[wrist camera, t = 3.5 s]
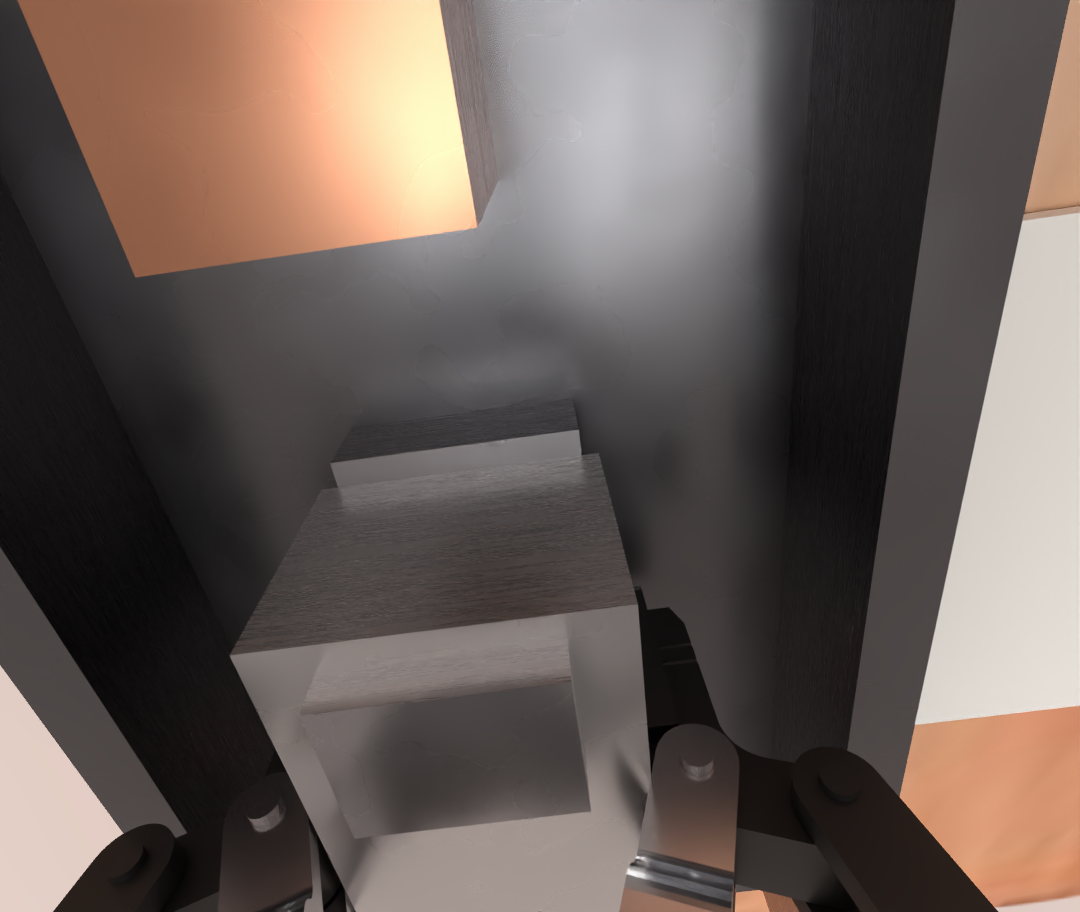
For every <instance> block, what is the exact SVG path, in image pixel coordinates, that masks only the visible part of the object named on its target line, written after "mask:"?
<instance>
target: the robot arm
mask: <svg viewBox="0 0 1080 912" xmlns="http://www.w3.org/2000/svg"><path fill="white" fill-rule="evenodd" d="M634 591H635V595H636V599H637V603H638V612H639V625H640V638H641V651H642V664H643V677H644V690H645V703H646V716H647V729H648V742H649V755H650V768H651V781H650V785H649V791H648V796H647V802H646V807H645V813H644V818H643V824H642V829H641V835H640V840H639V846H638V851H637V856H636V859H635V861H634V863H633V862H632V863H631V864H630V866H629V868H628V872H627V875H626V879H625V884H624V889H623V894H622V900H621V905H620V910H619V912H735V896H736V884H737V885H741V886H745V887H749V888H753V889H757V890H761V891H765V892H769V893H773V894H777V895H781V896H785V897H789V898H791V899H792V900H793V902H794V904H795V905H796V907H797V909H798V910H799V912H998V911H997V910H996V909H995V908H994V906H993V905H992V904H991V903H990V902H989V901H988V899H987V898H986V897H985V896H984V895H983V894H982V892H981V891H980V890H979V889H978V888H977V887H976V886H975V884H974V883H973V882H972V881H971V880H970V879H969V877H968V876H967V875H966V874H965V873H964V872H963V870H962V869H961V868H960V867H959V866H958V865H957V863H956V862H955V861H954V860H953V859H952V858H951V857H950V855H949V854H948V853H947V852H946V851H945V850H944V848H943V847H942V846H941V845H940V844H939V843H938V841H937V840H936V839H935V838H934V837H933V836H932V834H931V833H930V832H929V831H928V830H927V829H926V828H925V826H924V825H923V824H922V823H921V822H920V821H919V819H918V818H917V817H916V816H915V815H914V814H913V812H912V811H911V810H910V809H909V808H908V807H907V805H906V804H905V803H904V802H903V801H902V800H901V799H900V797H899V796H898V795H897V794H896V793H895V792H894V790H893V789H892V788H891V787H890V786H889V785H888V783H887V782H886V781H885V780H884V779H883V778H882V776H881V775H880V774H879V773H878V772H877V771H876V770H875V769H874V768H873V767H872V766H871V765H870V764H869V763H868V762H867V761H865V760H864V759H862V758H861V757H859V756H858V755H856V754H854V753H852V752H849V751H847V750H844V749H840V748H835V747H817V748H813V749H810V750H808V751H806V752H804V753H803V754H802V755H800V756H799V757H798V759H797V760H796V762H795V763H793V762H787V761H782V760H776V759H771V758H766V757H762V756H758V755H755V754H752V753H750V752H748V751H746V750H744V749H742V748H741V747H739V746H738V745H736V744H735V743H734V742H733V741H732V740H731V739H730V738H729V737H728V736H727V735H726V734H725V733H724V731H723V730H722V728H721V726H720V724H719V722H718V719H717V716H716V713H715V710H714V707H713V704H712V702H711V699H710V696H709V693H708V690H707V687H706V684H705V681H704V678H703V675H702V673H701V670H700V667H699V664H698V662H697V658H696V655H695V652H694V649H693V647H692V645H691V641H690V638H689V635H688V632H687V629H686V626H685V623H684V622H683V621H682V620H681V619H680V618H679V617H678V616H677V615H676V614H675V613H674V612H673V611H672V610H671V609H670V608H669V607H665V608H657V609H649V610H647V606H646V602H645V599H644V595H643V592H642V588H641V586H637V587H634ZM53 912H353V909H352V903H351V901H350V899H349V897H348V895H347V893H346V891H345V889H344V887H343V885H342V883H341V881H340V878H339V876H338V874H337V872H336V870H335V868H334V866H333V864H332V862H331V860H330V858H329V856H328V854H327V852H326V850H325V848H324V846H323V844H322V842H321V840H320V838H319V836H318V834H317V832H316V830H315V828H314V826H313V824H312V822H311V820H310V818H309V816H308V814H307V812H306V810H305V808H304V806H303V804H302V801H301V799H300V797H299V795H298V793H297V791H296V789H295V787H294V785H293V783H292V781H291V779H290V777H289V775H288V773H287V771H286V769H285V767H284V765H283V763H282V761H281V759H280V757H279V755H278V753H277V751H276V749H275V751H274V753H273V756H272V759H271V761H270V764H269V766H268V769H267V771H266V774H265V776H264V777H263V778H261V779H259V780H257V781H256V782H254V783H252V784H251V785H250V786H248V787H247V788H246V789H245V790H244V791H243V792H242V793H241V794H240V795H239V796H238V797H237V798H236V799H235V800H234V802H233V803H232V805H231V806H230V808H229V810H228V812H227V814H226V816H225V817H223V818H221V819H219V820H217V821H215V822H212V823H210V824H208V825H205V826H203V827H200V828H198V829H196V830H193V831H191V832H188V833H186V834H184V835H181V836H179V837H177V838H176V837H175V836H174V835H173V833H172V832H171V830H170V829H169V828H168V827H166V826H165V825H162V824H155V823H152V824H145V825H142V826H138V827H136V828H134V829H131V830H129V831H128V832H126V833H124V834H122V835H121V836H119V837H118V838H117V839H115V840H114V841H113V842H111V843H110V844H109V845H108V846H107V847H106V848H105V849H103V850H102V851H101V853H100V854H99V855H98V856H97V857H96V858H95V860H94V861H93V862H92V863H91V865H90V866H89V867H88V868H87V869H86V871H85V872H84V873H83V875H82V876H81V877H80V878H79V880H78V881H77V882H76V884H75V885H74V886H73V887H72V889H71V890H70V891H69V892H68V894H67V895H66V896H65V897H64V899H63V900H62V901H61V902H60V904H59V905H58V906H57V907H56V909H55V910H54V911H53Z"/></svg>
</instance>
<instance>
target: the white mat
mask: <svg viewBox="0 0 1080 912" xmlns="http://www.w3.org/2000/svg"><path fill="white" fill-rule="evenodd" d="M1072 706H1080V206H1076V207H1069V208H1062V209H1055V210H1048V211H1041V212H1034V213H1027V214H1024V216H1023V221H1022V225H1021V230H1020V235H1019V239H1018V244H1017V249H1016V253H1015V258H1014V263H1013V267H1012V272H1011V277H1010V281H1009V286H1008V291H1007V295H1006V300H1005V305H1004V309H1003V314H1002V319H1001V324H1000V328H999V333H998V338H997V342H996V347H995V352H994V356H993V361H992V366H991V370H990V375H989V380H988V384H987V389H986V394H985V398H984V403H983V408H982V412H981V417H980V422H979V426H978V431H977V436H976V440H975V445H974V450H973V454H972V459H971V464H970V469H969V473H968V478H967V483H966V487H965V492H964V497H963V501H962V506H961V511H960V515H959V520H958V525H957V529H956V534H955V539H954V543H953V548H952V553H951V557H950V562H949V567H948V571H947V576H946V581H945V585H944V590H943V595H942V599H941V604H940V609H939V614H938V618H937V623H936V628H935V632H934V637H933V642H932V646H931V651H930V656H929V660H928V665H927V670H926V674H925V679H924V684H923V688H922V693H921V698H920V702H919V707H918V712H917V716H916V721H915V725H919V724H927V723H936V722H944V721H953V720H961V719H970V718H978V717H987V716H995V715H1004V714H1012V713H1021V712H1029V711H1038V710H1046V709H1055V708H1063V707H1072Z"/></svg>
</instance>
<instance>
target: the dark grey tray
mask: <svg viewBox="0 0 1080 912" xmlns="http://www.w3.org/2000/svg"><path fill="white" fill-rule="evenodd" d="M1069 1H1070V0H0V665H1V667H2V668H3V669H4V671H5V672H6V673H7V675H8V676H9V677H10V679H11V680H12V682H13V683H14V684H15V686H16V687H17V688H18V690H19V691H20V693H21V694H22V695H23V697H24V698H25V699H26V701H27V702H28V704H29V705H30V706H31V708H32V709H33V710H34V712H35V713H36V714H37V716H38V717H39V718H40V720H41V721H42V723H43V724H44V725H45V727H46V728H47V729H48V731H49V732H50V734H51V735H52V736H53V738H54V739H55V740H56V742H57V743H58V744H59V746H60V747H61V749H62V750H63V751H64V753H65V754H66V755H67V757H68V758H69V759H70V761H71V762H72V764H73V765H74V766H75V768H76V769H77V770H78V772H79V773H80V774H81V776H82V777H83V779H84V780H85V781H86V783H87V784H88V785H89V787H90V788H91V789H92V791H93V792H94V794H95V795H96V796H97V798H98V799H99V800H100V802H101V803H102V805H103V806H104V807H105V809H106V810H107V811H108V813H109V814H110V815H111V817H112V818H113V820H114V821H115V822H116V824H117V825H118V826H119V828H120V829H121V831H122V832H123V833H126V832H128V831H129V830H131V829H134V828H136V827H138V826H142V825H145V824H152V823H155V824H162V825H165V826H166V827H168V828H169V829H170V830H171V832H172V833H173V835H174V836H175V837H176V838H177V837H179V836H181V835H184V834H186V833H188V832H191V831H193V830H196V829H198V828H200V827H203V826H205V825H208V824H210V823H212V822H215V821H217V820H219V819H221V818H223V817H225V816H226V814H227V812H228V810H229V808H230V806H231V805H232V803H233V802H234V800H235V799H236V798H237V797H238V796H239V795H240V794H241V793H242V792H243V791H244V790H245V789H246V788H247V787H248V786H250V785H251V784H252V783H254V782H256V781H257V780H259V779H261V778H263V777H264V776H265V774H266V771H267V769H268V766H269V764H270V761H271V759H272V756H273V753H274V751H275V747H274V745H273V743H272V741H271V739H270V737H269V735H268V733H267V731H266V729H265V727H264V724H263V722H262V720H261V718H260V716H259V714H258V712H257V710H256V708H255V706H254V704H253V702H252V700H251V698H250V696H249V694H248V692H247V690H246V688H245V686H244V684H243V682H242V680H241V678H240V676H239V674H238V672H237V670H236V668H235V666H234V664H233V662H232V660H231V658H230V656H229V655H230V654H231V652H232V650H233V648H234V647H235V645H236V643H237V641H238V639H239V638H240V636H241V634H242V632H243V630H244V629H245V627H246V625H247V623H248V621H249V620H250V618H251V616H252V614H253V612H254V611H255V609H256V607H257V605H258V603H259V602H260V600H261V598H262V596H263V594H264V593H265V591H266V589H267V587H268V585H269V584H270V582H271V580H272V578H273V576H274V575H275V573H276V571H277V569H278V567H279V566H280V564H281V562H282V560H283V558H284V557H285V555H286V553H287V551H288V549H289V548H290V546H291V544H292V542H293V540H294V539H295V537H296V535H297V533H298V532H299V530H300V528H301V526H302V524H303V523H304V521H305V519H306V517H307V515H308V514H309V512H310V510H311V508H312V506H313V505H314V503H315V501H316V499H317V497H318V496H319V494H320V492H321V490H324V489H331V488H339V487H346V486H354V485H361V484H369V483H376V482H384V481H391V480H399V479H406V478H414V477H421V476H429V475H436V474H444V473H451V472H459V471H466V470H474V469H481V468H489V467H496V466H504V465H511V464H519V463H526V462H534V461H541V460H549V459H556V458H564V457H571V456H579V455H586V454H594V453H599V456H600V460H601V464H602V468H603V472H604V476H605V480H606V483H607V487H608V491H609V495H610V499H611V503H612V507H613V510H614V514H615V518H616V522H617V526H618V530H619V534H620V537H621V541H622V545H623V549H624V553H625V557H626V560H627V564H628V568H629V572H630V576H631V580H632V584H633V587H637V586H641V588H642V592H643V595H644V599H645V602H646V606H647V610H649V609H657V608H665V607H669V608H670V609H671V610H672V611H673V612H674V613H675V614H676V615H677V616H678V617H679V618H680V619H681V620H682V621H683V622H684V623H685V626H686V629H687V632H688V635H689V638H690V641H691V645H692V647H693V649H694V652H695V655H696V658H697V662H698V664H699V667H700V670H701V673H702V675H703V678H704V681H705V684H706V687H707V690H708V693H709V696H710V699H711V702H712V704H713V707H714V710H715V713H716V716H717V719H718V722H719V724H720V726H721V728H722V730H723V731H724V733H725V734H726V735H727V736H728V737H729V738H730V739H731V740H732V741H733V742H734V743H735V744H736V745H738V746H739V747H741V748H742V749H744V750H746V751H748V752H750V753H752V754H755V755H758V756H762V757H766V758H771V759H776V760H782V761H787V762H793V763H795V762H796V760H797V759H798V757H799V756H800V755H802V754H803V753H804V752H806V751H808V750H810V749H813V748H817V747H835V748H840V749H844V750H847V751H849V752H852V753H854V754H856V755H858V756H859V757H861V758H862V759H864V760H865V761H867V762H868V763H869V764H870V765H871V766H872V767H873V768H874V769H875V770H876V771H877V772H878V773H879V774H880V775H881V776H882V778H883V779H884V780H885V781H886V782H887V783H888V785H889V786H890V787H891V788H892V789H893V790H894V792H895V793H896V794H897V795H898V796H900V791H901V787H902V782H903V777H904V773H905V768H906V763H907V759H908V754H909V749H910V744H911V740H912V735H913V730H914V726H915V721H916V716H917V712H918V707H919V702H920V698H921V693H922V688H923V684H924V679H925V674H926V670H927V665H928V660H929V656H930V651H931V646H932V642H933V637H934V632H935V628H936V623H937V618H938V614H939V609H940V604H941V599H942V595H943V590H944V585H945V581H946V576H947V571H948V567H949V562H950V557H951V553H952V548H953V543H954V539H955V534H956V529H957V525H958V520H959V515H960V511H961V506H962V501H963V497H964V492H965V487H966V483H967V478H968V473H969V469H970V464H971V459H972V454H973V450H974V445H975V440H976V436H977V431H978V426H979V422H980V417H981V412H982V408H983V403H984V398H985V394H986V389H987V384H988V380H989V375H990V370H991V366H992V361H993V356H994V352H995V347H996V342H997V338H998V333H999V328H1000V324H1001V319H1002V314H1003V309H1004V305H1005V300H1006V295H1007V291H1008V286H1009V281H1010V277H1011V272H1012V267H1013V263H1014V258H1015V253H1016V249H1017V244H1018V239H1019V235H1020V230H1021V225H1022V221H1023V216H1024V211H1025V207H1026V202H1027V197H1028V193H1029V188H1030V183H1031V179H1032V174H1033V169H1034V164H1035V160H1036V155H1037V150H1038V146H1039V141H1040V136H1041V132H1042V127H1043V122H1044V118H1045V113H1046V108H1047V104H1048V99H1049V94H1050V90H1051V85H1052V80H1053V76H1054V71H1055V66H1056V62H1057V57H1058V52H1059V48H1060V43H1061V38H1062V33H1063V29H1064V24H1065V19H1066V15H1067V10H1068V5H1069ZM752 890H757V889H753V888H749V887H745V886H741V885H737V884H736V892H743V891H752ZM763 892H764V895H765V899H766V902H767V905H768V908H769V911H770V912H799V910H798V909H797V907H796V905H795V904H794V902H793V900H792V899H791V898H789V897H785V896H781V895H777V894H773V893H769V892H765V891H763ZM352 909H353V912H356V911H355V909H354V907H353V905H352Z"/></svg>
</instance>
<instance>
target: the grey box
mask: <svg viewBox="0 0 1080 912" xmlns="http://www.w3.org/2000/svg"><path fill="white" fill-rule="evenodd" d="M229 656H230V658H231V660H232V662H233V664H234V666H235V668H236V670H237V672H238V674H239V676H240V678H241V680H242V682H243V684H244V686H245V688H246V690H247V692H248V694H249V696H250V698H251V700H252V702H253V704H254V706H255V708H256V710H257V712H258V714H259V716H260V718H261V720H262V722H263V724H264V727H265V729H266V731H267V733H268V735H269V737H270V739H271V741H272V743H273V745H274V747H275V749H276V751H277V753H278V755H279V757H280V759H281V761H282V763H283V765H284V767H285V769H286V771H287V773H288V775H289V777H290V779H291V781H292V783H293V785H294V787H295V789H296V791H297V793H298V795H299V797H300V799H301V801H302V804H303V806H304V808H305V810H306V812H307V814H308V816H309V818H310V820H311V822H312V824H313V826H314V828H315V830H316V832H317V834H318V836H319V838H320V840H321V842H322V844H323V846H324V848H325V850H326V852H327V854H328V856H329V858H330V860H331V862H332V864H333V866H334V868H335V870H336V872H337V874H338V876H339V878H340V881H341V883H342V885H343V887H344V889H345V891H346V893H347V895H348V897H349V899H350V901H351V903H352V905H353V907H354V909H355V911H356V912H619V910H620V905H621V900H622V894H623V889H624V884H625V879H626V875H627V872H628V868H629V866H630V864H631V863H632V862H633V863H634V861H635V859H636V856H637V851H638V846H639V840H640V835H641V829H642V824H643V818H644V813H645V807H646V802H647V796H648V791H649V785H650V781H651V768H650V755H649V742H648V729H647V716H646V703H645V690H644V677H643V664H642V651H641V638H640V625H639V612H638V603H637V599H636V595H635V591H634V587H633V584H632V580H631V576H630V572H629V568H628V564H627V560H626V557H625V553H624V549H623V545H622V541H621V537H620V534H619V530H618V526H617V522H616V518H615V514H614V510H613V507H612V503H611V499H610V495H609V491H608V487H607V483H606V480H605V476H604V472H603V468H602V464H601V460H600V456H599V453H594V454H586V455H579V456H571V457H564V458H556V459H549V460H541V461H534V462H526V463H519V464H511V465H504V466H496V467H489V468H481V469H474V470H466V471H459V472H451V473H444V474H436V475H429V476H421V477H414V478H406V479H399V480H391V481H384V482H376V483H369V484H361V485H354V486H346V487H339V488H331V489H324V490H321V492H320V494H319V496H318V497H317V499H316V501H315V503H314V505H313V506H312V508H311V510H310V512H309V514H308V515H307V517H306V519H305V521H304V523H303V524H302V526H301V528H300V530H299V532H298V533H297V535H296V537H295V539H294V540H293V542H292V544H291V546H290V548H289V549H288V551H287V553H286V555H285V557H284V558H283V560H282V562H281V564H280V566H279V567H278V569H277V571H276V573H275V575H274V576H273V578H272V580H271V582H270V584H269V585H268V587H267V589H266V591H265V593H264V594H263V596H262V598H261V600H260V602H259V603H258V605H257V607H256V609H255V611H254V612H253V614H252V616H251V618H250V620H249V621H248V623H247V625H246V627H245V629H244V630H243V632H242V634H241V636H240V638H239V639H238V641H237V643H236V645H235V647H234V648H233V650H232V652H231V654H230V655H229Z"/></svg>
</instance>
